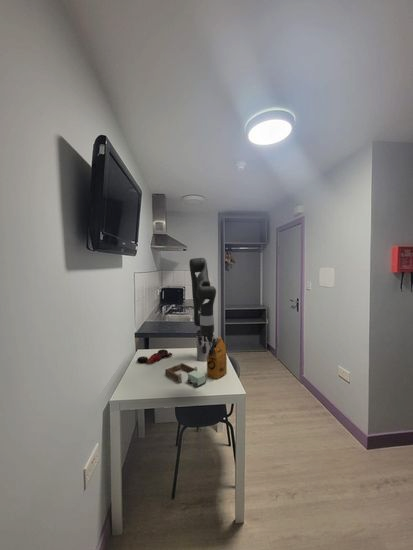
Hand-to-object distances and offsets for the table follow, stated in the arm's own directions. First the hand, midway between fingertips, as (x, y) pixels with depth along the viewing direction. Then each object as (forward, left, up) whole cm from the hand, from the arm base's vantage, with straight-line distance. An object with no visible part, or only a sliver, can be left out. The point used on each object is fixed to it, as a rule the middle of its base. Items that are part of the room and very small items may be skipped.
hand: (207, 354), depth 126 cm
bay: (0, -24, -19) cm, 31 cm away
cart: (0, -10, -19) cm, 22 cm away
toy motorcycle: (-3, -58, -20) cm, 61 cm away
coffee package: (-16, -9, -20) cm, 27 cm away
